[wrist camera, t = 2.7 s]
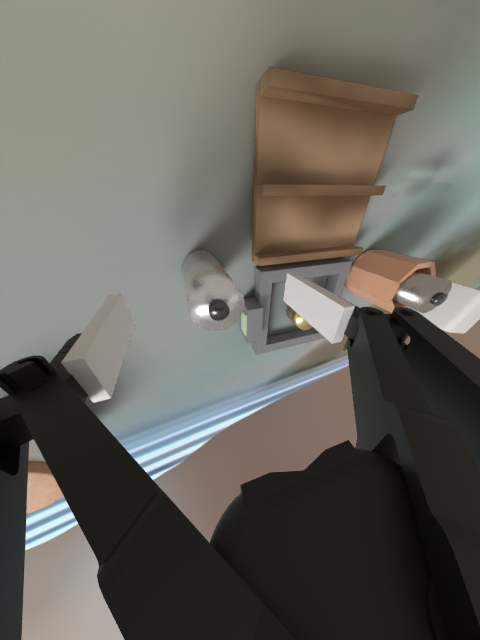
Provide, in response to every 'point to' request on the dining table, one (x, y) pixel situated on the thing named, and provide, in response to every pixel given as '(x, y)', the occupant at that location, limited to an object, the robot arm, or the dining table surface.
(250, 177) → the dining table surface
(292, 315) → the gold ball
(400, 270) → the octagonal tan cylinder
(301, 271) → the cradle
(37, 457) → the lidded jar
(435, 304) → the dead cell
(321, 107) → the trough board
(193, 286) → the cell
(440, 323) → the security camera
